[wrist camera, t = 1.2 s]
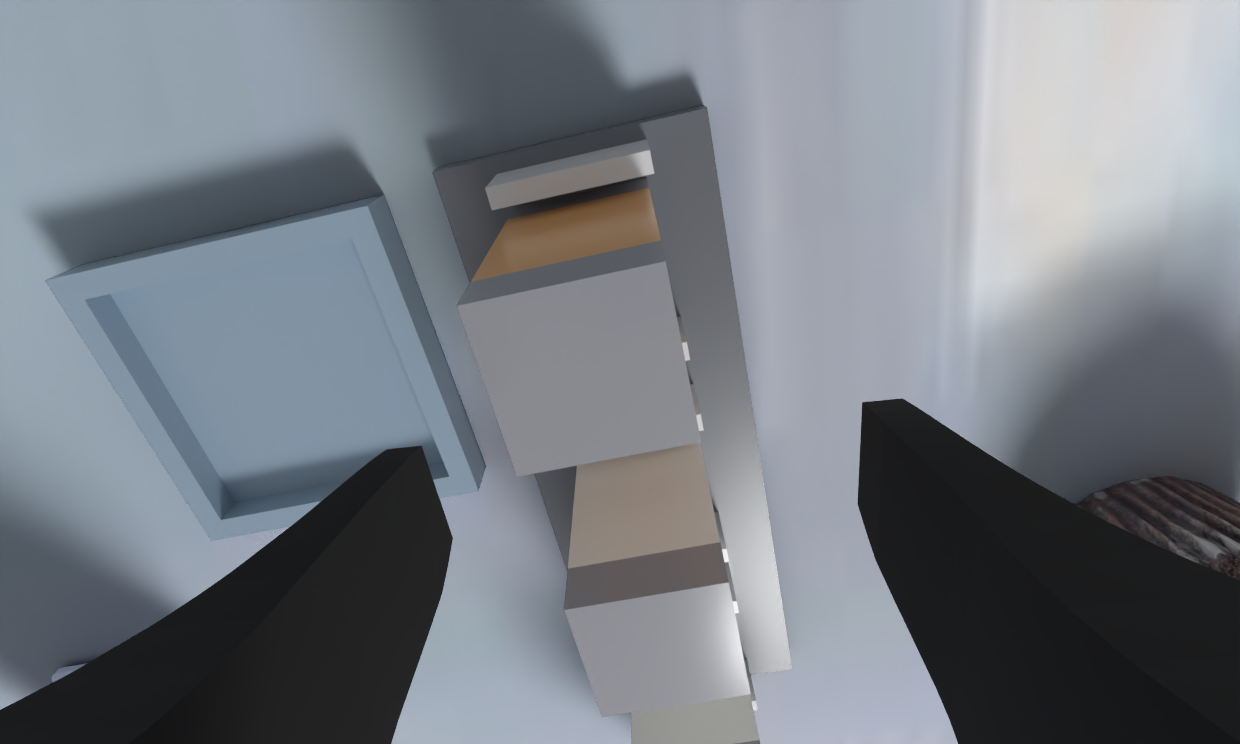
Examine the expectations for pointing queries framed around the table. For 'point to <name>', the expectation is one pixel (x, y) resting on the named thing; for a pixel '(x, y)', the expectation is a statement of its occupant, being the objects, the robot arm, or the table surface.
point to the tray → (275, 362)
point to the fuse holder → (705, 313)
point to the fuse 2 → (697, 723)
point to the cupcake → (1175, 518)
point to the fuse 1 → (651, 584)
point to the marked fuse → (580, 332)
